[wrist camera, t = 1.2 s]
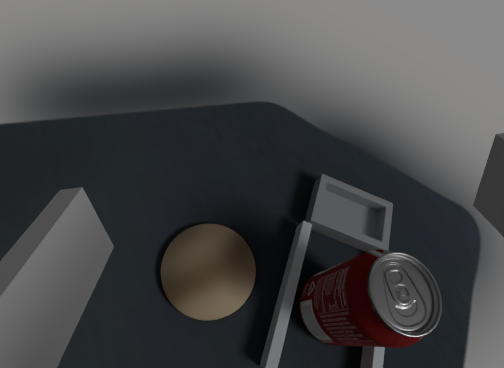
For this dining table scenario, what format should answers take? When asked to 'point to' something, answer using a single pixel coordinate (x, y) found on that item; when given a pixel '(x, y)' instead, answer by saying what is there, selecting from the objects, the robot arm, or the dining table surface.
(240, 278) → the cork coaster
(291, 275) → the channel
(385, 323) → the soda can
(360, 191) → the tray
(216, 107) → the dining table surface
